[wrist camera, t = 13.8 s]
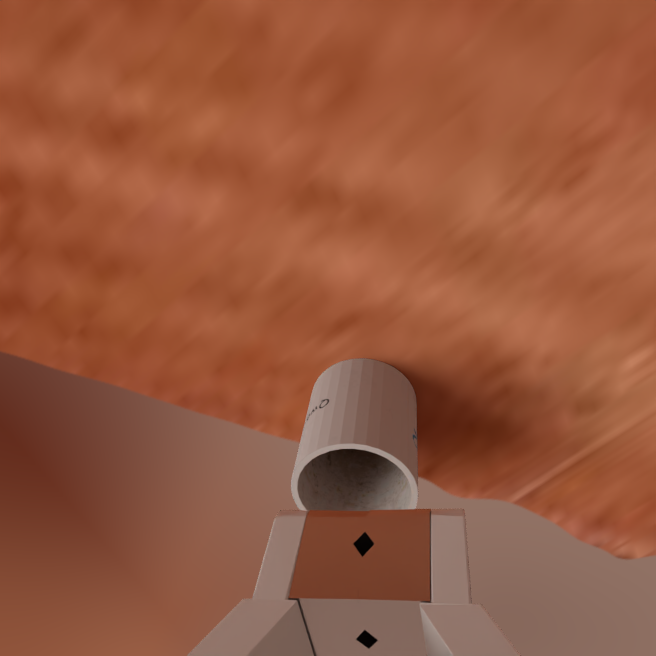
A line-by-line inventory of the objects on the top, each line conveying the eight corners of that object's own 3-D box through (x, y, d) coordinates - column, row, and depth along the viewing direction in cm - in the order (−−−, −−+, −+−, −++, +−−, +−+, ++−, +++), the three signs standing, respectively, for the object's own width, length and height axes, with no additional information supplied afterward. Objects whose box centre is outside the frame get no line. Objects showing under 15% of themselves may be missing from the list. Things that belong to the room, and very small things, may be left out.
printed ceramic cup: (347, 339, 46) (333, 422, 37) (438, 393, 47) (444, 484, 38) (272, 437, 51) (244, 528, 43) (354, 482, 53) (344, 578, 44)
